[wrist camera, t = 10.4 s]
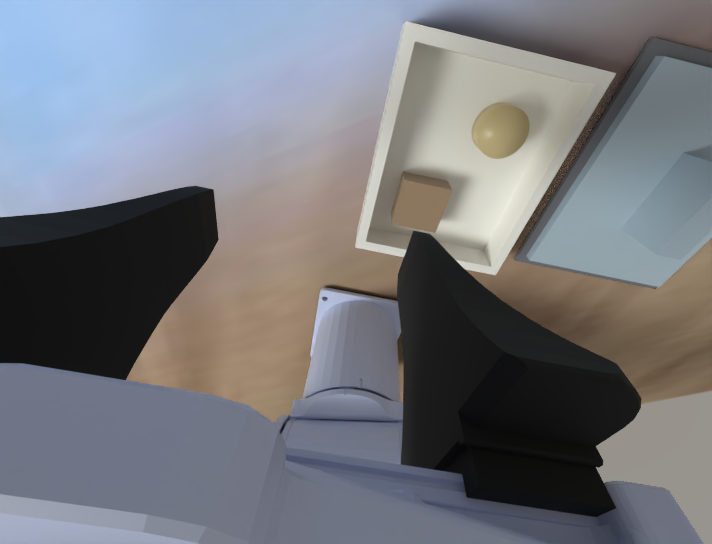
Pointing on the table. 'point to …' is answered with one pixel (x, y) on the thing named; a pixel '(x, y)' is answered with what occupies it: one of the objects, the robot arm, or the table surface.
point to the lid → (642, 184)
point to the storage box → (470, 143)
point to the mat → (626, 88)
